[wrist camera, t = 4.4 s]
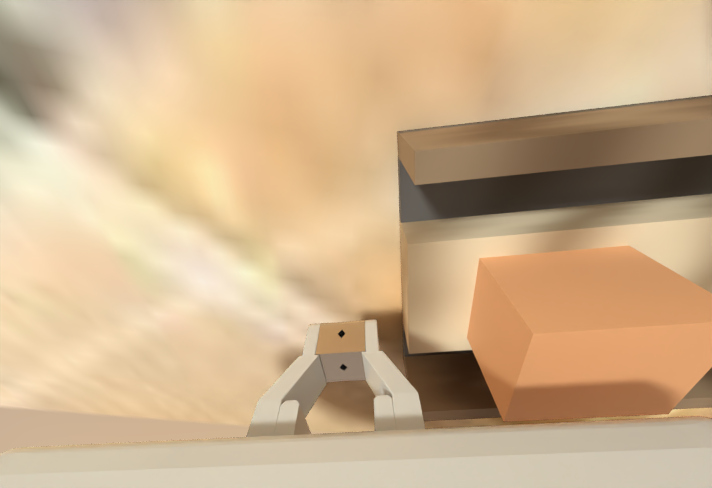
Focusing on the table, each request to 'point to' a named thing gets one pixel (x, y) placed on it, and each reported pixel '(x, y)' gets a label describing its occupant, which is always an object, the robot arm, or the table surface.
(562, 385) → the block
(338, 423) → the table surface
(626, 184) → the box
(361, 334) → the robot arm
